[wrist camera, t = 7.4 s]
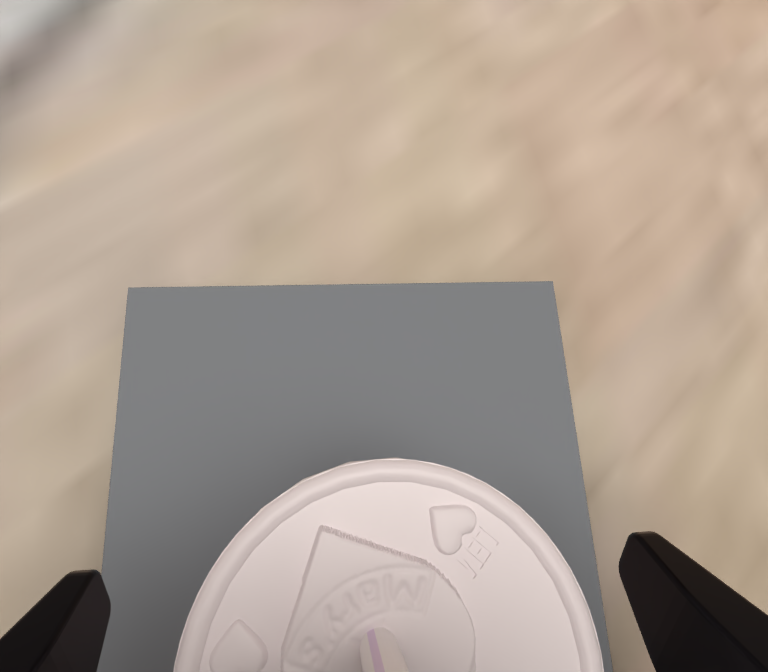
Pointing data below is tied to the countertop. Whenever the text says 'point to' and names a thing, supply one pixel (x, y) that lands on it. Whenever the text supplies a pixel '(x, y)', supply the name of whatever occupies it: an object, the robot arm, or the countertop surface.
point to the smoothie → (390, 582)
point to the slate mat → (322, 423)
